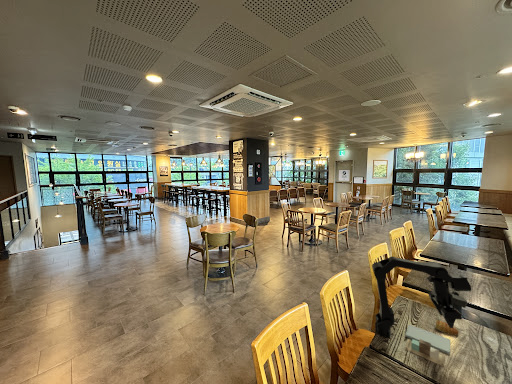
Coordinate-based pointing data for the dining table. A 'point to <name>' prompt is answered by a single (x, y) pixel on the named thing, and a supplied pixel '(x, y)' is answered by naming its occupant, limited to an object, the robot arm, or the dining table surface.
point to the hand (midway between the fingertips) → (446, 321)
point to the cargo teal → (415, 345)
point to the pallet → (441, 357)
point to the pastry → (446, 328)
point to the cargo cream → (434, 353)
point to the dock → (429, 338)
